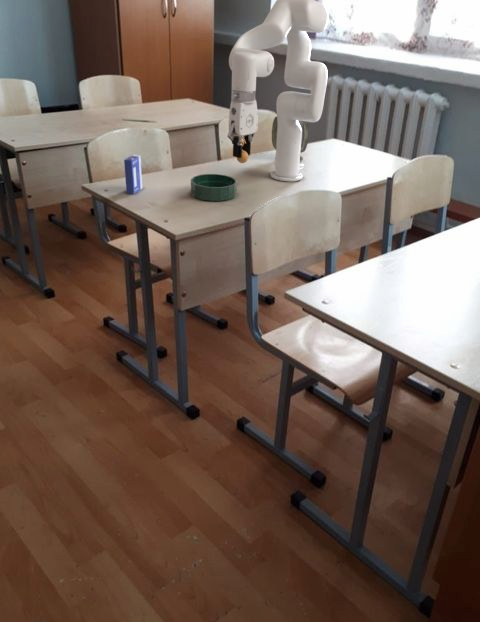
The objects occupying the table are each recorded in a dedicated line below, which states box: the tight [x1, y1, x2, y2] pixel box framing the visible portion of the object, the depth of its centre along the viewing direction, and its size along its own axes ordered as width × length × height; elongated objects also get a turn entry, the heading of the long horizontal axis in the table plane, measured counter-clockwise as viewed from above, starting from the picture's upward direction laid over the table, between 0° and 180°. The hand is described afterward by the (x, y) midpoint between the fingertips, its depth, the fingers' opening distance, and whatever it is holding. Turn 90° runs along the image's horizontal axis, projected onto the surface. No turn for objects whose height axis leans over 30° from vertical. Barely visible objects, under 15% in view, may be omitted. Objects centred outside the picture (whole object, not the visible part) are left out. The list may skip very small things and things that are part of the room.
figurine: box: [234, 131, 250, 164], centre depth 193 cm, size 8×6×12 cm
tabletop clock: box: [271, 115, 310, 161], centre depth 253 cm, size 14×9×25 cm, turn 102°
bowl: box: [190, 173, 238, 202], centre depth 212 cm, size 16×16×5 cm
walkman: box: [123, 154, 143, 195], centre depth 209 cm, size 8×3×12 cm, turn 167°
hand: (241, 155), depth 196 cm, fingers closed on figurine, 4 cm apart
